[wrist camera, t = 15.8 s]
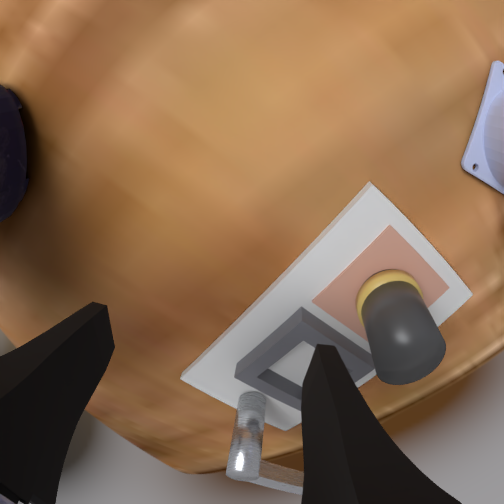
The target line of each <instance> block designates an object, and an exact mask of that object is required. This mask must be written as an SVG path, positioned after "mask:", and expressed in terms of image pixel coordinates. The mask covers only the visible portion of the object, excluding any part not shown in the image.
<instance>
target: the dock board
mask: <svg viewBox="0 0 504 504" xmlns="http://www.w3.org/2000/svg"><path fill="white" fill-rule="evenodd" d="M389 224H390V225H391V226H392V227H393V228H394V229H395V230H396V231H397V232H398V233H399V234H400V235H401V236H402V237H403V238H404V239H405V240H406V241H407V242H408V243H409V244H410V245H411V246H412V247H413V248H414V249H415V250H416V251H417V252H418V253H419V255H420V256H421V257H422V258H423V259H424V260H425V261H426V262H427V263H428V264H429V265H430V266H431V267H432V268H433V269H434V271H435V272H436V273H437V274H438V275H439V276H440V277H441V278H442V279H443V280H444V282H445V283H446V284H447V285H448V286H449V287H450V288H449V289H448V290H447V291H446V292H445V293H444V294H443V295H442V296H440V297H439V298H438V299H437V300H436V301H435V302H434V303H433V304H432V305H431V306H430V307H428V310H429V312H430V314H431V316H432V317H433V319H434V321H435V323H436V325H437V327H438V326H439V325H440V324H442V323H443V322H444V321H445V320H446V319H447V318H448V317H450V316H451V315H452V314H453V313H454V312H455V311H456V310H457V309H458V308H459V307H460V306H462V305H463V304H464V303H465V302H466V301H467V300H468V299H469V298H470V297H471V296H472V295H473V294H472V292H471V291H470V290H469V288H468V287H467V286H466V285H465V283H464V282H463V281H462V280H461V279H460V277H459V276H458V275H457V274H456V272H455V271H454V270H453V269H452V268H451V266H450V265H449V264H448V263H447V262H446V261H445V259H444V258H443V257H442V256H441V255H440V254H439V253H438V251H437V250H436V249H435V248H434V247H433V246H432V245H431V244H430V242H429V241H428V240H427V239H426V238H425V237H424V236H423V235H422V234H421V233H420V231H419V230H418V229H417V228H416V227H415V226H414V225H413V224H412V223H411V222H410V221H409V220H408V219H407V218H406V217H405V216H404V215H403V214H402V213H401V212H400V211H399V210H398V209H397V208H396V206H395V205H394V204H393V203H392V202H391V201H389V200H388V199H387V198H386V197H385V196H384V195H383V194H382V193H381V192H380V191H379V190H378V189H377V188H376V187H375V186H374V185H373V184H372V183H371V182H370V181H369V182H368V183H367V184H366V185H365V186H364V187H363V188H362V190H361V191H360V192H359V193H358V194H357V195H356V196H355V197H354V198H353V199H352V200H351V201H350V203H349V204H348V205H347V206H346V207H345V208H344V209H343V210H342V211H341V212H340V213H339V214H338V215H337V217H336V218H335V219H334V220H333V221H332V222H331V223H330V224H329V225H328V226H327V227H326V228H325V229H324V230H323V231H322V233H321V234H320V235H319V236H318V237H317V238H316V239H315V240H314V241H313V242H312V243H311V244H310V245H309V246H308V247H307V248H306V249H305V250H304V251H303V252H302V254H301V255H300V256H299V257H298V258H297V259H296V260H295V261H294V262H293V263H292V264H291V265H290V266H289V267H288V268H287V269H286V270H285V271H284V272H283V273H282V274H281V275H280V276H279V277H278V278H277V279H276V280H275V281H274V282H273V283H272V284H271V285H270V286H269V287H268V289H267V290H266V291H265V292H264V293H263V294H262V295H261V296H260V297H259V298H258V299H257V300H256V301H255V302H254V303H253V304H252V305H251V306H250V307H249V308H248V309H247V310H246V311H245V312H244V313H243V314H242V315H241V316H240V317H239V318H238V319H237V320H236V321H235V322H234V323H233V324H232V325H231V326H230V327H229V328H228V329H227V330H225V331H224V332H223V333H222V334H221V335H220V336H219V337H218V338H217V339H216V340H215V341H214V342H213V343H212V344H211V345H210V346H209V347H208V348H207V349H206V350H205V351H204V352H203V353H202V354H201V355H200V356H199V357H198V358H197V359H196V360H195V361H194V362H193V363H192V364H190V365H189V366H188V367H187V368H186V369H185V370H184V371H183V372H182V375H181V377H180V379H181V380H183V381H185V382H186V383H188V384H190V385H192V386H194V387H195V388H197V389H199V390H201V391H203V392H205V393H206V394H208V395H210V396H212V397H214V398H216V399H218V400H220V401H222V402H224V403H226V404H228V405H230V406H232V407H234V408H236V409H237V405H238V399H239V396H240V395H241V394H243V393H247V392H254V393H258V394H261V395H262V396H264V397H265V398H266V410H265V421H264V422H266V423H268V424H270V425H272V426H275V427H277V428H279V429H282V430H284V431H287V430H289V429H290V428H292V427H294V426H296V425H298V424H299V423H301V422H302V419H301V400H302V384H303V380H304V378H305V375H306V372H307V370H308V367H309V364H310V362H311V359H312V356H313V353H314V350H315V348H316V345H317V344H324V345H333V346H335V347H336V348H337V350H338V352H339V354H340V356H341V358H342V360H343V362H344V364H345V366H346V368H347V370H348V372H349V373H350V375H351V377H352V379H353V381H354V383H355V385H356V386H357V388H358V387H360V386H361V385H363V384H364V383H365V382H367V381H368V380H370V379H371V378H373V377H374V376H375V375H377V374H376V371H375V366H374V362H373V358H372V354H371V350H370V346H369V343H368V342H367V341H366V340H365V339H363V338H362V337H360V336H359V335H358V334H356V333H355V332H353V331H352V330H350V329H349V328H348V327H346V326H345V325H343V324H342V323H341V322H339V321H338V320H336V319H335V318H334V317H332V316H331V315H329V314H328V313H326V312H325V311H324V310H322V309H321V308H319V307H318V306H317V305H315V304H314V303H312V300H313V299H314V298H315V297H316V296H317V295H318V294H319V293H320V292H321V291H322V290H323V289H324V288H326V287H327V286H328V285H329V284H330V283H331V282H332V281H333V280H334V279H335V278H336V277H337V276H338V275H339V274H340V273H341V272H342V271H343V270H344V269H345V268H346V267H347V266H349V265H350V264H351V263H352V262H353V261H354V260H355V259H356V258H357V257H358V256H359V255H360V254H361V253H362V252H363V251H364V250H365V249H366V248H367V247H368V246H369V245H370V244H371V243H372V242H373V241H374V240H375V239H376V238H377V237H378V236H379V235H380V234H381V232H382V231H383V230H384V229H385V228H386V227H387V226H388V225H389Z"/></svg>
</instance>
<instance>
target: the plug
mask: <svg viewBox="0 0 504 504" xmlns="http://www.w3.org/2000/svg"><path fill="white" fill-rule="evenodd" d="M356 310H357V314H358V317H359V321H360V323H361V324H362V326H363V327H364V328H365V331H366V335H367V339H368V343H369V346H370V350H371V354H372V358H373V362H374V366H375V371H376V374H377V376H378V377H379V379H380V380H382V381H383V382H385V383H388V384H392V385H403V384H408V383H412V382H415V381H417V380H420V379H422V378H423V377H425V376H427V375H428V374H430V373H431V372H432V371H433V370H434V369H435V368H436V367H437V366H438V365H439V364H440V362H441V361H442V359H443V357H444V355H445V351H446V344H445V341H444V339H443V337H442V335H441V333H440V331H439V329H438V327H437V325H436V323H435V321H434V319H433V317H432V316H431V314H430V312H429V310H428V308H427V306H426V304H425V302H424V301H423V293H422V291H421V289H420V287H419V285H418V284H417V282H416V280H415V279H414V278H413V276H412V275H410V274H409V273H407V272H405V271H402V270H397V269H386V270H382V271H379V272H377V273H375V274H373V275H372V276H370V277H369V278H368V279H367V280H366V281H365V282H364V283H363V284H362V286H361V288H360V289H359V291H358V293H357V296H356Z"/></svg>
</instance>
